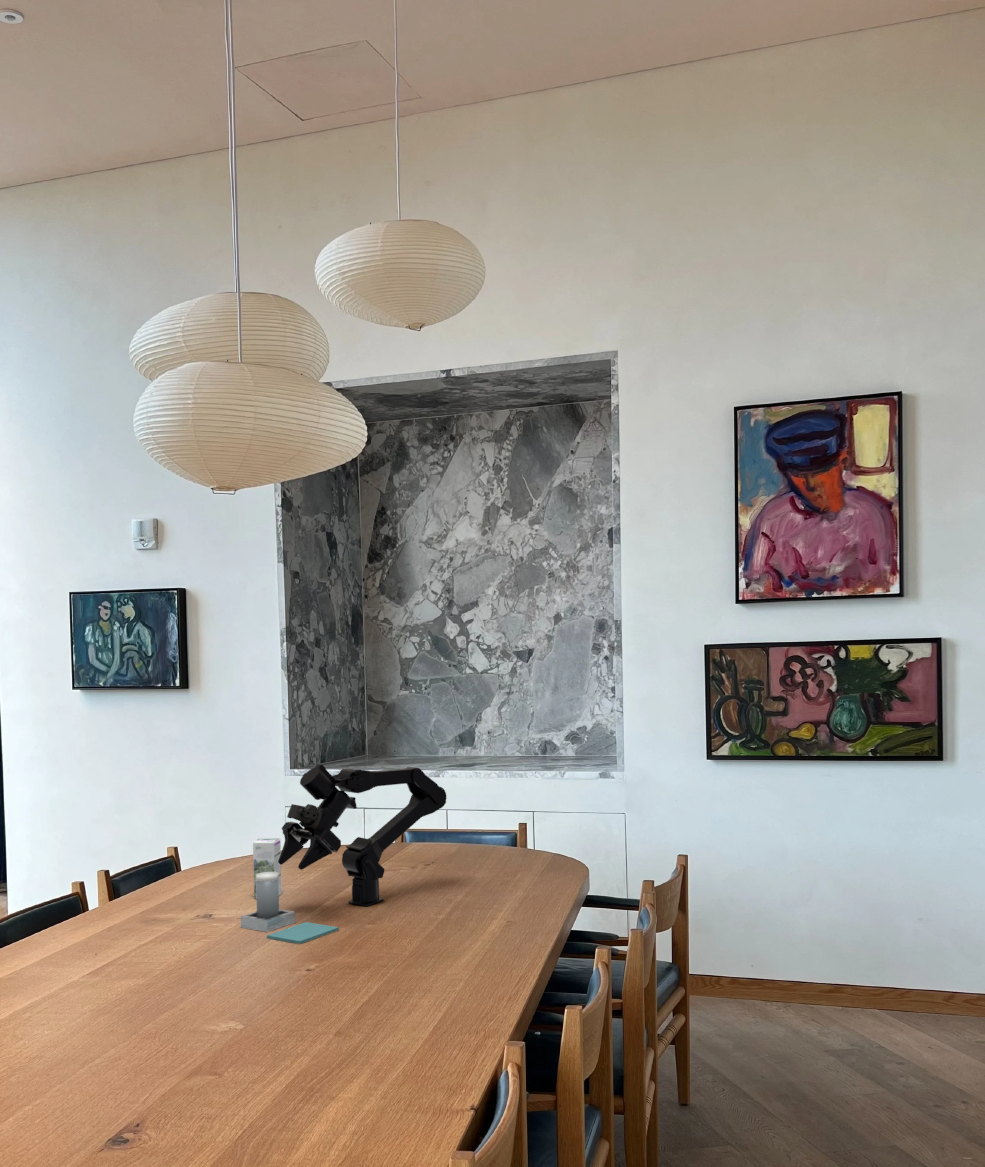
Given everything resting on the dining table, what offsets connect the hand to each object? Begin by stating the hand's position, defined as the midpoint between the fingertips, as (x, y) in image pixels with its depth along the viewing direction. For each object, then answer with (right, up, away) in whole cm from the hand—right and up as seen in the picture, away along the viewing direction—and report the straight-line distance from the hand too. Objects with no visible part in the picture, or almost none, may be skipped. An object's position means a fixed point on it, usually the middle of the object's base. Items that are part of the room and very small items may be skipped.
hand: (289, 866), depth 232 cm
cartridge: (-4, -12, -5) cm, 14 cm away
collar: (-4, -12, -5) cm, 14 cm away
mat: (+6, -11, -14) cm, 18 cm away
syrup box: (-10, -15, +23) cm, 29 cm away
